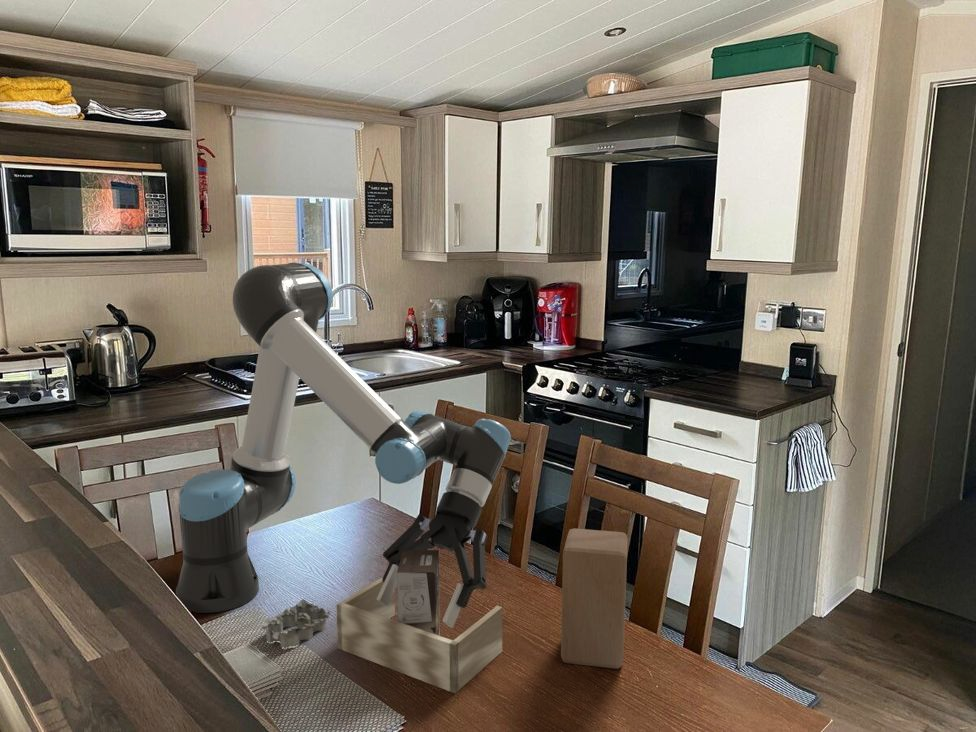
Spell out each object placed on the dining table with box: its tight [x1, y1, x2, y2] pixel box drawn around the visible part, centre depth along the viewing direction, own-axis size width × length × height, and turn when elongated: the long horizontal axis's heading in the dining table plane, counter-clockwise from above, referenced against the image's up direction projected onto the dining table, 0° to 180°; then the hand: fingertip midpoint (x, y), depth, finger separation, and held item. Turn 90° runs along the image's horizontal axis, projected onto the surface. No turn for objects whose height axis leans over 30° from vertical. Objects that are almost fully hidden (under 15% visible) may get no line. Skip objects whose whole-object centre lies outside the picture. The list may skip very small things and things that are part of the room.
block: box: [560, 528, 629, 670], centre depth 126 cm, size 10×10×20 cm
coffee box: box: [396, 549, 441, 636], centre depth 127 cm, size 9×6×16 cm
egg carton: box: [261, 598, 331, 648], centre depth 133 cm, size 11×8×4 cm
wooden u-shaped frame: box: [336, 576, 503, 694], centre depth 127 cm, size 24×14×8 cm, turn 58°
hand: (413, 613), depth 125 cm, fingers open, 13 cm apart
